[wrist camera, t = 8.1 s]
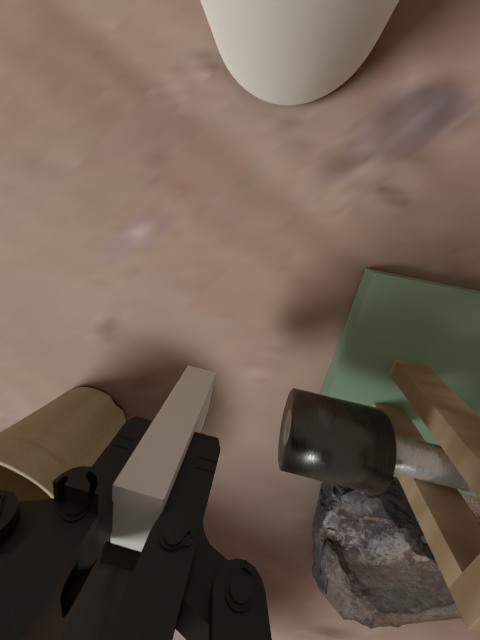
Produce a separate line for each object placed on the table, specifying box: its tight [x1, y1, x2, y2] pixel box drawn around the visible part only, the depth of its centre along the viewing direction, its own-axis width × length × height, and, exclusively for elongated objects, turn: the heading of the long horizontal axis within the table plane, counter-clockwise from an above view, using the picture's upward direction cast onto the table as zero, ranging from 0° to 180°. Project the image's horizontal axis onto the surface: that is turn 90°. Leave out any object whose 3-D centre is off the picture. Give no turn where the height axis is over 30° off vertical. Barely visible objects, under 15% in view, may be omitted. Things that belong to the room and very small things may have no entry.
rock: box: [312, 480, 462, 629], centre depth 21 cm, size 14×11×5 cm
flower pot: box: [0, 387, 126, 501], centre depth 19 cm, size 9×9×9 cm
